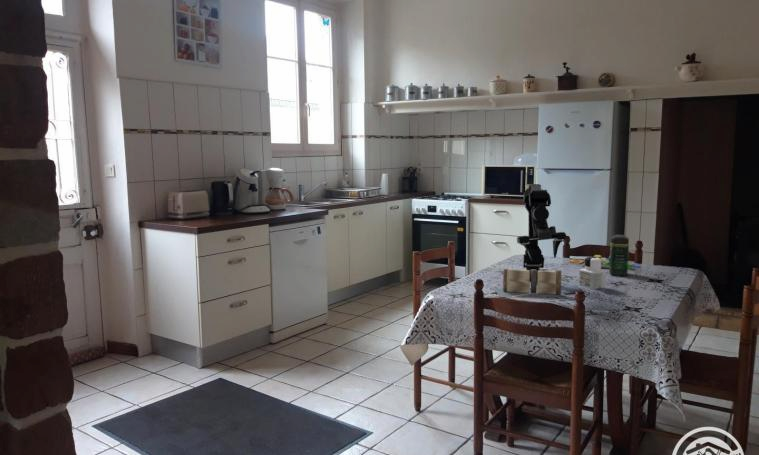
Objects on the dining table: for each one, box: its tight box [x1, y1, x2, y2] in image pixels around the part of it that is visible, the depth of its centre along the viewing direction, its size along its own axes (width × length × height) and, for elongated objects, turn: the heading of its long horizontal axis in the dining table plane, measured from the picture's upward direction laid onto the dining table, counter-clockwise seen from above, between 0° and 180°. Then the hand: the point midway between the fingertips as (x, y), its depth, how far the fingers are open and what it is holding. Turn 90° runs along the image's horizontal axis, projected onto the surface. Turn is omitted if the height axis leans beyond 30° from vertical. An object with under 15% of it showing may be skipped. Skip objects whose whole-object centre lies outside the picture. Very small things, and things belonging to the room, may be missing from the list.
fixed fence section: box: [537, 269, 563, 294], centre depth 234 cm, size 9×2×10 cm, turn 72°
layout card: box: [493, 287, 567, 298], centre depth 239 cm, size 15×26×1 cm, turn 92°
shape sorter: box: [568, 254, 641, 271], centre depth 293 cm, size 34×19×5 cm, turn 59°
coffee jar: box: [609, 234, 630, 277], centre depth 270 cm, size 10×8×19 cm
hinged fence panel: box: [502, 268, 538, 293], centre depth 238 cm, size 13×2×9 cm, turn 72°
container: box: [578, 256, 607, 290], centre depth 246 cm, size 8×8×13 cm
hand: (543, 259), depth 235 cm, fingers open, 9 cm apart
